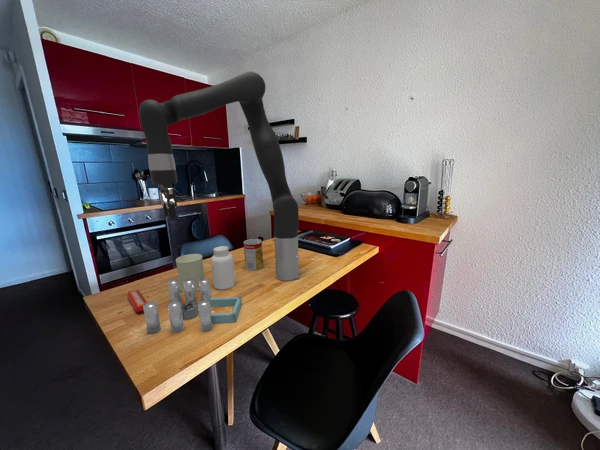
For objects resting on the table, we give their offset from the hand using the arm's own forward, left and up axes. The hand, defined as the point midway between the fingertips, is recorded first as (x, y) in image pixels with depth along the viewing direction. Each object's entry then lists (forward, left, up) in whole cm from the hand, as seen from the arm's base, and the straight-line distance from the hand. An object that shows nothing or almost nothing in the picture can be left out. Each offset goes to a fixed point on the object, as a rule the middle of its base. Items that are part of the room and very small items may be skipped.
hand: (170, 217), depth 84 cm
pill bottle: (-15, -4, -28) cm, 32 cm away
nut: (-9, +15, -28) cm, 33 cm away
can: (-3, -4, -28) cm, 28 cm away
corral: (-19, +15, -28) cm, 37 cm away
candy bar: (+11, +7, -28) cm, 31 cm away
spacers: (-9, +15, -28) cm, 33 cm away
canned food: (-24, -21, -28) cm, 42 cm away
